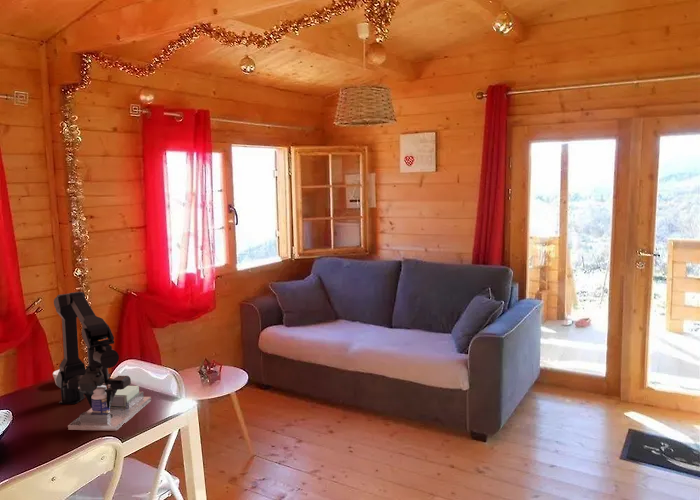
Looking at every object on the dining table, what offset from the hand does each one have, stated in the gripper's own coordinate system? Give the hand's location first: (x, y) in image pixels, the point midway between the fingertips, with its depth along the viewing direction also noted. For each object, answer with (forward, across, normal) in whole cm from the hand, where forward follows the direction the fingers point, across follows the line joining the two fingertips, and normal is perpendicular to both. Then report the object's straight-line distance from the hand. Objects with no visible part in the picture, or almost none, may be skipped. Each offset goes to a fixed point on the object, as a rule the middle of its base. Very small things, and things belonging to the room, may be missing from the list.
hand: (101, 407), depth 183 cm
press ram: (+3, 0, +14) cm, 14 cm away
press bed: (+5, 0, +6) cm, 8 cm away
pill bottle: (+2, 0, 0) cm, 2 cm away
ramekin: (+6, -33, +36) cm, 49 cm away
